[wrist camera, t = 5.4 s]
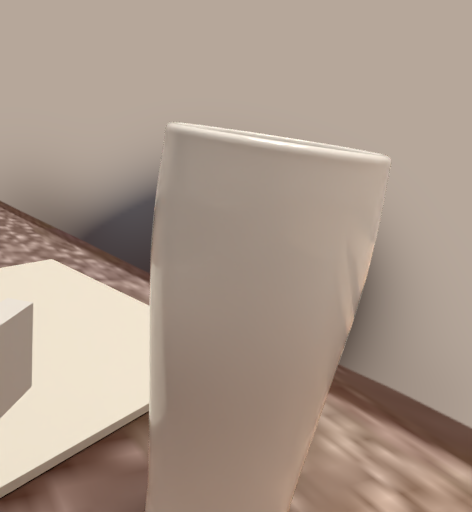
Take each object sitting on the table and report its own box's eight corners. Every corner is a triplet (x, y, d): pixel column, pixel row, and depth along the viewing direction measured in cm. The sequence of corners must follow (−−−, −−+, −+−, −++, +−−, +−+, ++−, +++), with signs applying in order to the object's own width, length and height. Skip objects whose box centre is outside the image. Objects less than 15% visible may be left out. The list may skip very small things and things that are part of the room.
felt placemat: (-211, 312, 28) (-212, 304, 28) (51, 264, 42) (51, 259, 42) (-39, 520, 16) (-39, 509, 16) (240, 356, 31) (241, 350, 31)
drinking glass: (296, 647, 14) (424, 163, 10) (90, 593, 15) (126, 117, 10) (298, 484, 20) (375, 151, 16) (155, 452, 21) (193, 123, 17)
